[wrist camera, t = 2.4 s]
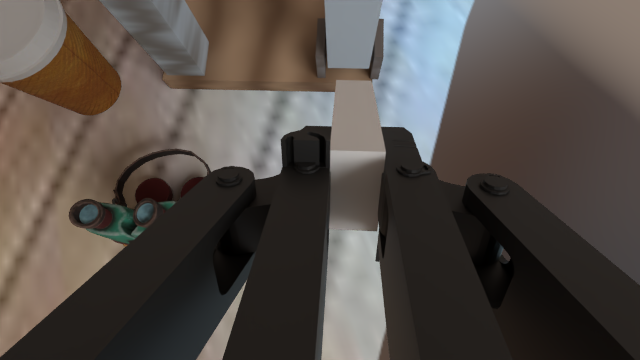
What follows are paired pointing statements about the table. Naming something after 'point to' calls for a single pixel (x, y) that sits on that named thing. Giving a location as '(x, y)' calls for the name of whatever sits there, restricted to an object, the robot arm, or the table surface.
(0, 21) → the disposable coffee cup
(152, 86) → the table surface
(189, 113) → the table surface
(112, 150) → the table surface
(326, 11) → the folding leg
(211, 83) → the grey block structure
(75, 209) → the binoculars
